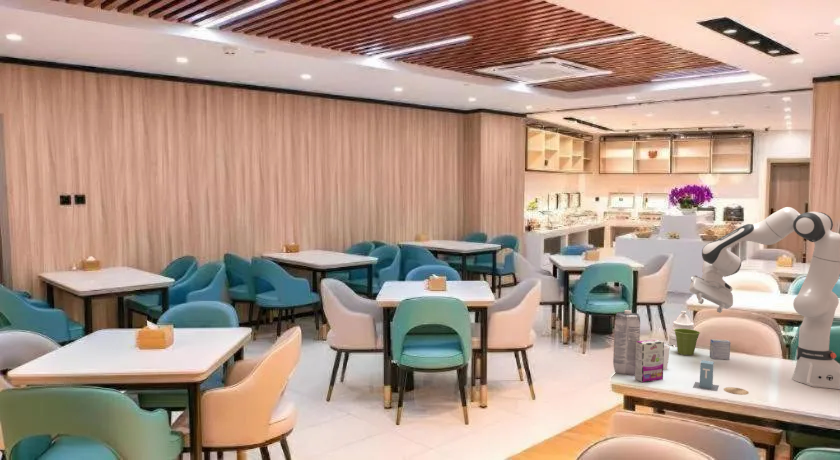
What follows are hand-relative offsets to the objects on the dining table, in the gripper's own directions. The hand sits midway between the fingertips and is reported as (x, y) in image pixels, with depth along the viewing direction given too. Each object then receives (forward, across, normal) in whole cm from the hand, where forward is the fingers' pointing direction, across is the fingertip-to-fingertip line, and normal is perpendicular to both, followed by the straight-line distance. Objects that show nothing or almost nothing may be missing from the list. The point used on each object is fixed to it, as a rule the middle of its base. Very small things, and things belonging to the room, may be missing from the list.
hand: (710, 307), depth 293 cm
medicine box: (+5, +23, +25) cm, 34 cm away
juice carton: (+39, -26, +18) cm, 50 cm away
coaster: (+44, +7, -10) cm, 46 cm away
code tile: (+44, -2, -4) cm, 44 cm away
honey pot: (-9, +16, +46) cm, 49 cm away
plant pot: (+4, +11, +34) cm, 36 cm away
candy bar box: (+44, -20, +9) cm, 49 cm away
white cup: (+29, -10, +19) cm, 36 cm away
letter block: (+43, -2, -4) cm, 44 cm away
